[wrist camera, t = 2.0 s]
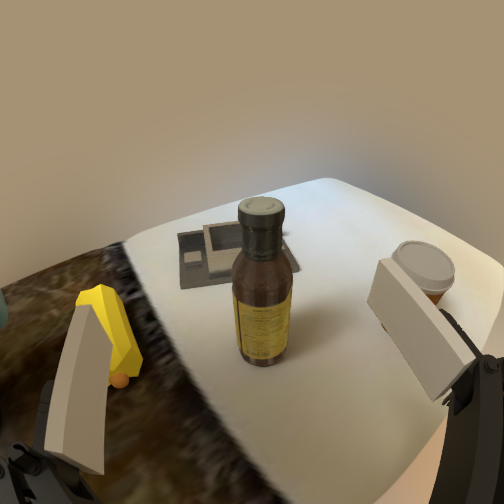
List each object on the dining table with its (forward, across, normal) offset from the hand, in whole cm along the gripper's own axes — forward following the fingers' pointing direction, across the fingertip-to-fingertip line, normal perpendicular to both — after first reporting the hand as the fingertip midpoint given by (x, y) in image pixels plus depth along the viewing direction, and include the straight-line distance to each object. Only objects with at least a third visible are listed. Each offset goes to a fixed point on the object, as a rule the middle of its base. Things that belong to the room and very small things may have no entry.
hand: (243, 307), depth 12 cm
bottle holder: (+33, +4, -21) cm, 39 cm away
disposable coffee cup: (+11, +25, -22) cm, 35 cm away
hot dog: (+17, -17, -21) cm, 32 cm away
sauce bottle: (+13, +4, -21) cm, 25 cm away
